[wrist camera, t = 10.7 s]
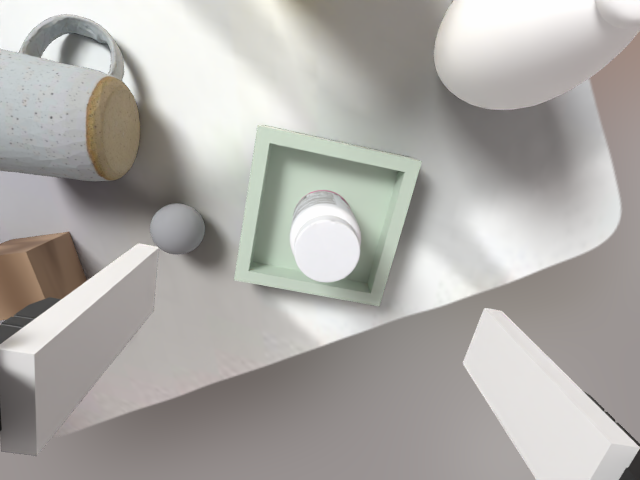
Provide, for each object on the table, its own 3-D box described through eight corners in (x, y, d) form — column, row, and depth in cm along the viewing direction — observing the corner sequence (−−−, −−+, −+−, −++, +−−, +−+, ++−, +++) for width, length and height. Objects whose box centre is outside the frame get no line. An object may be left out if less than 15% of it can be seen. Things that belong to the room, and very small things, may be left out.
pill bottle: (358, 236, 30) (374, 278, 22) (302, 251, 31) (299, 298, 23) (343, 181, 29) (356, 204, 21) (285, 197, 29) (276, 226, 21)
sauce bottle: (541, 32, 27) (947, -122, 10) (478, 130, 29) (721, 144, 12) (454, -30, 26) (748, -333, 8) (394, 77, 28) (532, 8, 10)
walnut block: (33, 292, 32) (-14, 322, 28) (11, 239, 31) (-43, 260, 26) (89, 285, 32) (51, 313, 28) (69, 231, 31) (25, 251, 26)
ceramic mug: (146, 178, 29) (93, 194, 22) (40, 163, 29) (-51, 175, 22) (148, 31, 26) (85, -6, 19) (29, 12, 26) (-82, -34, 19)
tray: (240, 265, 32) (233, 280, 29) (262, 124, 28) (257, 125, 26) (373, 290, 33) (379, 306, 30) (411, 157, 29) (421, 161, 27)
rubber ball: (160, 239, 31) (139, 256, 27) (164, 194, 30) (142, 205, 26) (207, 248, 31) (193, 266, 28) (213, 203, 30) (199, 216, 26)
